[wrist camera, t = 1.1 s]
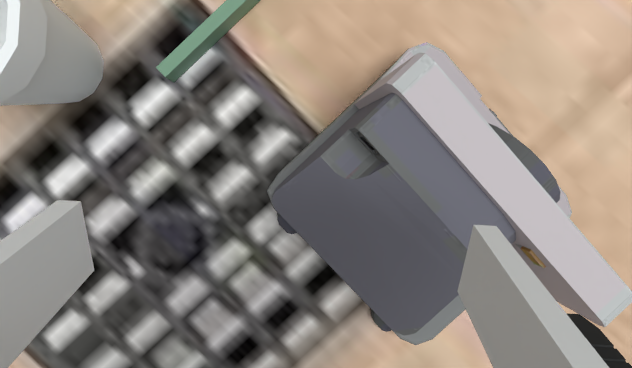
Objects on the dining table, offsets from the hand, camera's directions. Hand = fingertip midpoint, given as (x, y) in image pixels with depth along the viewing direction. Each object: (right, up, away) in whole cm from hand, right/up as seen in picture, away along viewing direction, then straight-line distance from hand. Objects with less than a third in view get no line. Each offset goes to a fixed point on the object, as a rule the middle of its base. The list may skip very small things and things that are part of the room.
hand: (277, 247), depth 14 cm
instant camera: (+9, +1, +23) cm, 25 cm away
